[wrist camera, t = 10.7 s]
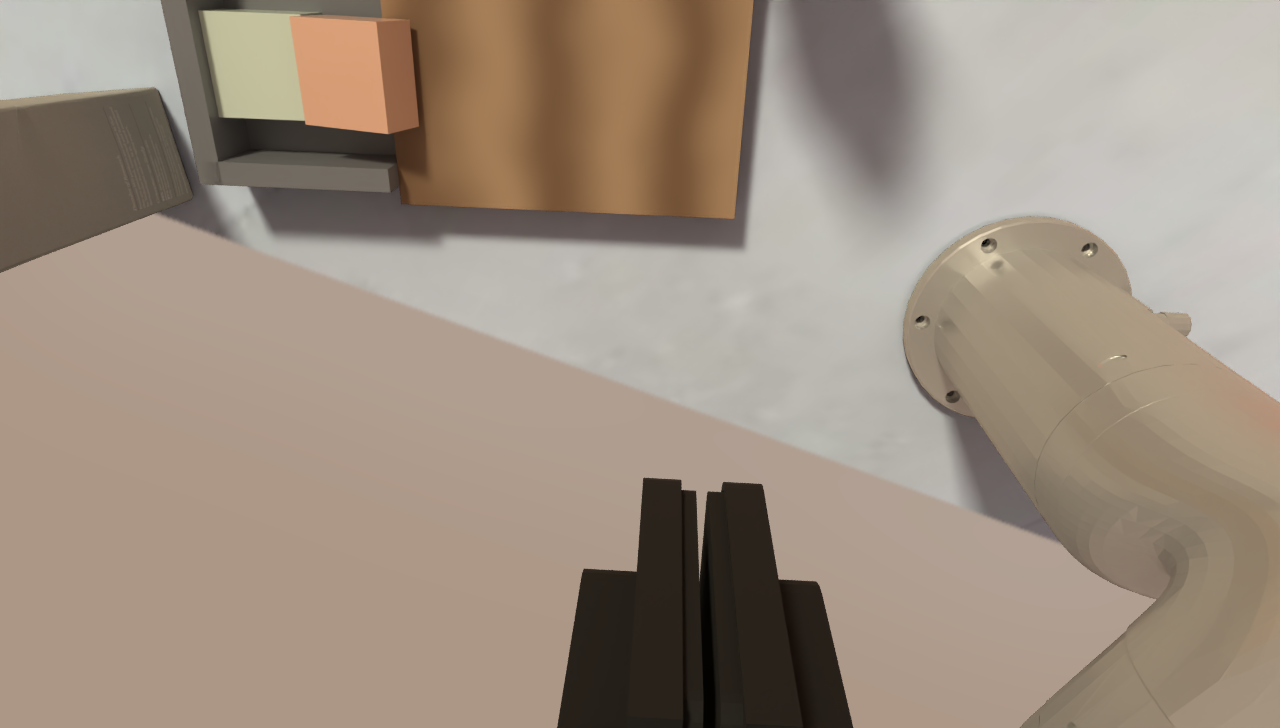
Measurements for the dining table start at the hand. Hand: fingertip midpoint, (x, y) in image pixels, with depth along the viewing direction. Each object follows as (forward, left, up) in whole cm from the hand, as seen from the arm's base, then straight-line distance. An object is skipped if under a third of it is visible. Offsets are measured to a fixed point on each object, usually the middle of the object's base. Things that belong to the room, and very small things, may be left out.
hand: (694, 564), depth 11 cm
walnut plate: (+6, -3, -35) cm, 36 cm away
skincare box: (+32, +2, -35) cm, 48 cm away
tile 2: (+16, -3, -33) cm, 37 cm away
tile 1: (+21, -3, -34) cm, 41 cm away
